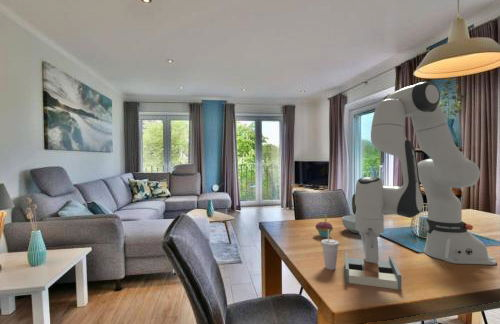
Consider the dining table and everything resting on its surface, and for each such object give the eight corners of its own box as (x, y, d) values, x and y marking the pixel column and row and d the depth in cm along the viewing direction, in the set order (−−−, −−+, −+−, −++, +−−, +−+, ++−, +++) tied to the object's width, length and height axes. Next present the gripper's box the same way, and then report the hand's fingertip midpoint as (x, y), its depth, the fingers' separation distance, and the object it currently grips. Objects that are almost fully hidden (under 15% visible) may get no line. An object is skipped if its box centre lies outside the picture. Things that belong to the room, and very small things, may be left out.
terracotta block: (377, 272, 87) (377, 260, 87) (378, 277, 84) (378, 265, 83) (364, 270, 89) (363, 258, 89) (364, 275, 85) (364, 263, 85)
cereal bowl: (380, 236, 132) (380, 222, 132) (345, 235, 135) (345, 222, 135) (370, 227, 149) (370, 215, 149) (339, 226, 152) (339, 214, 152)
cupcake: (336, 237, 133) (336, 213, 133) (322, 239, 130) (322, 215, 130) (325, 232, 141) (325, 210, 141) (312, 234, 138) (311, 211, 138)
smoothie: (325, 262, 102) (325, 226, 102) (342, 266, 98) (341, 229, 98) (318, 268, 97) (317, 230, 97) (335, 272, 93) (335, 233, 93)
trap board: (392, 268, 96) (392, 256, 96) (401, 289, 81) (401, 275, 81) (345, 263, 101) (345, 251, 101) (345, 282, 86) (345, 268, 86)
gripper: (383, 234, 79) (384, 280, 79) (376, 218, 98) (376, 255, 98) (360, 233, 81) (361, 277, 81) (357, 217, 100) (358, 254, 100)
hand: (369, 265), depth 90 cm, fingers closed
